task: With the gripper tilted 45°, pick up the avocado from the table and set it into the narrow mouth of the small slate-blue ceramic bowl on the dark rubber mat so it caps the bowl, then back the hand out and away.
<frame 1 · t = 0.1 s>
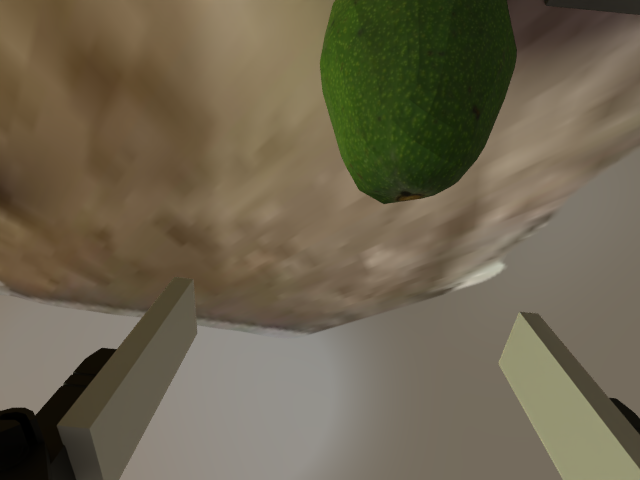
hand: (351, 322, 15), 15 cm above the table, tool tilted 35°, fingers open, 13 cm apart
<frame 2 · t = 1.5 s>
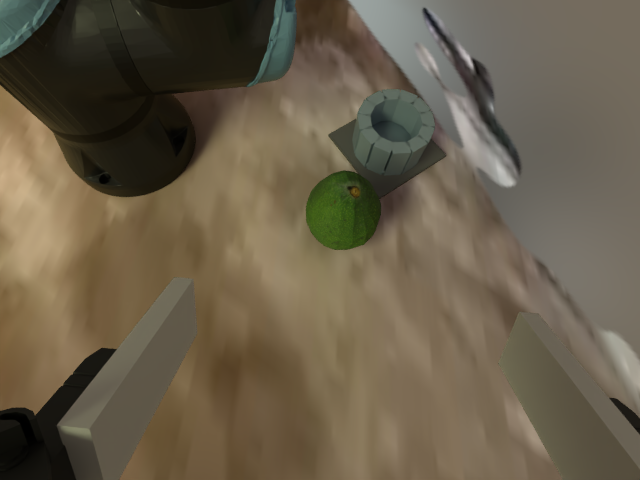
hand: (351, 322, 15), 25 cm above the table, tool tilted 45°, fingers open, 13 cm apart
avocado: (338, 229, 43), on the table
placemat: (386, 146, 47), on the table
bowl: (387, 144, 47), resting on placemat
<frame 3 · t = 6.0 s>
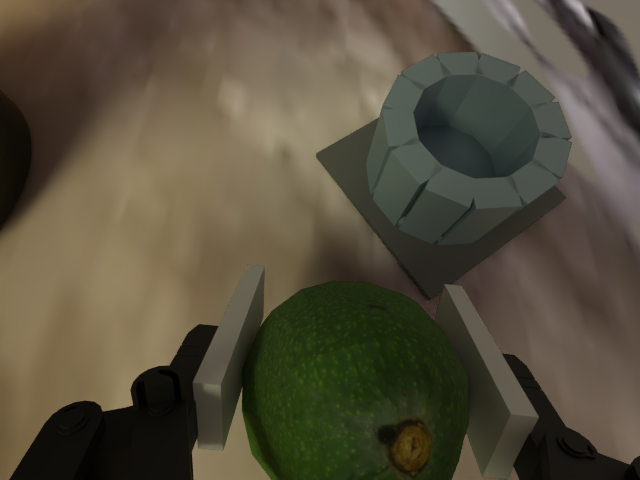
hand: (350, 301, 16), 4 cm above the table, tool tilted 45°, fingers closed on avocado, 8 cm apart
avocado: (338, 379, 18), on the table, touching gripper
placemat: (437, 178, 22), on the table
bowl: (440, 175, 22), resting on placemat
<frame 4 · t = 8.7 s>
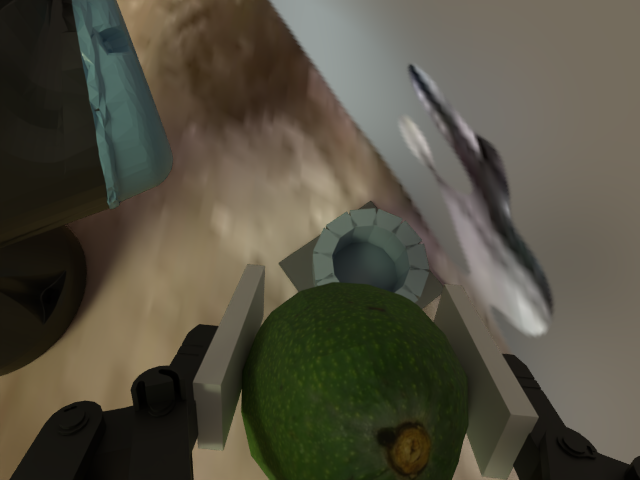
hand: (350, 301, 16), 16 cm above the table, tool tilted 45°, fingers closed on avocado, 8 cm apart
avocado: (338, 380, 18), point 13 cm above the table, touching gripper
placemat: (361, 277, 33), on the table
bowl: (361, 276, 33), resting on placemat
when the fingers open (10 cm above the table, at t = 11.3 s): avocado drops 3 cm, resting on bowl.
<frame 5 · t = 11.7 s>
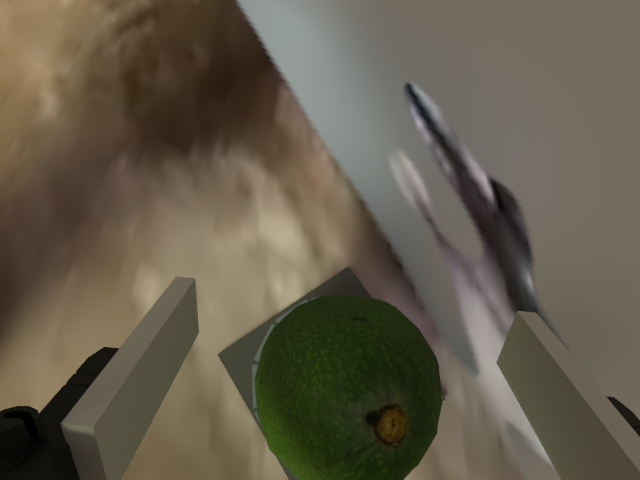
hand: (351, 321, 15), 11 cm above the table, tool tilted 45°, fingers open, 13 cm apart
avocado: (336, 378, 21), point 4 cm above the table, touching bowl
placemat: (330, 376, 24), on the table
bowl: (330, 376, 24), resting on placemat
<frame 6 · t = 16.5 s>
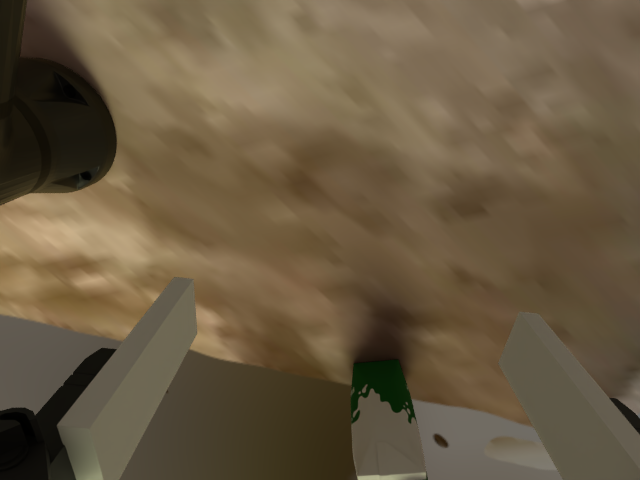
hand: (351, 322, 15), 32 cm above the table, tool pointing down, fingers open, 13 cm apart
milk carton: (377, 376, 58), on the table
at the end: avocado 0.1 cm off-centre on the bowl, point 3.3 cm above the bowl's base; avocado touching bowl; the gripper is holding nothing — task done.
